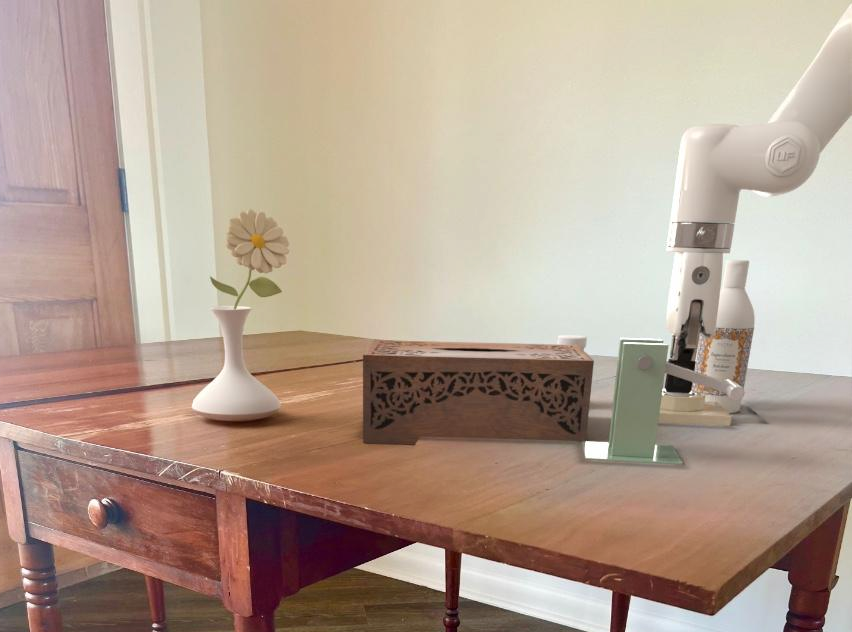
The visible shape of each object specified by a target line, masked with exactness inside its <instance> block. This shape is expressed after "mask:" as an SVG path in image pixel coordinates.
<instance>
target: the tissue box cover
mask: <svg viewBox="0 0 852 632" xmlns="http://www.w3.org/2000/svg"><path fill="white" fill-rule="evenodd" d="M585 352H586V351H585V350H584V351H583V350H582V349H581V348H580V347H579V346H578V345H557V343H556V344H555V343H554V344H553V343H513V342H512V343H510V342H509V343H508V342H473V341H472V342H471V341H469V342H467V341H435V340H433V341H431V340H430V341H429V340H428V341H427V340H390V339H389V340H388V339H374V340H373V341H372V343H370V345H369V346H368V348H367V349H366V351H364V353H363V354H362V443H363V444H383V445H385V444H386V445H411V446H412V445H415V446H416V444H417V442H418V441H419V439H420V438H421V437H423V438H425V437H427V438H455V439H456V438H457V439H488V440H489V439H492V440H522V441H523V440H526V441H555V442H556V441H557V442H561V441H562V442H582V441H587V435H588V433H587V432H588V424H589V412H590V405H591V404H590V403H591V393H592V384H593V374H594V365H595V360H594V359H593V358H592V357H591V356H590V355H589V354H588V353H587V352H586V353H587V354H588V355H589V356H588V355H587V354H586V353H585Z"/></svg>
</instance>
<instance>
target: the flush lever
mask: <svg viewBox="0 0 852 632" xmlns="http://www.w3.org/2000/svg"><path fill="white" fill-rule="evenodd" d="M665 374H670V375H673V376H676V377H679V378H682V379H685V380H688V381H691V382H694V383H697V384H700V385H703V386H706V387H709V388H712V389H715V390H717V391H720V392H723V393H725V394H727V395H728V396H729V397H730V398H731V399H732V400H734V401H738V400H741V399H742V400H743V398H744V396H745V393H746V392H745V388H744V389H743V388H742V387H740V386H739V385H738V384H737V383H735V382H734V381H733V380H731V379H727V380H724V381H722V380H719V379H716V378H713V377H710V376H707V375H704V374H701V373H698V372H695V371H692V370H689V369H686V368H683V367H680V366H677V365H675V364H672V363H669V362H668V361H666V369H665Z"/></svg>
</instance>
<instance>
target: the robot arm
mask: <svg viewBox="0 0 852 632" xmlns="http://www.w3.org/2000/svg"><path fill="white" fill-rule="evenodd" d="M851 116H852V2H851V3H850V5H848V7H847V9H846V10H845V11H844V13H843V14H842V15H841V17H840V18H839V19H838V21H837V22H836V24H835V26H834V27H833V28H832V29H831V31H830V33H829V34H828V36H827V38H826V39H825V41H824V42H823V44H822V46H821V47H820V49H819V50H818V52H817V53H816V55H815V57H814V58H813V60H812V61H811V63H810V64H809V66H808V67H807V69H806V70H805V71H804V73H803V74H802V76H801V77H800V78H799V80H798V81H797V82H796V84H795V85H794V86H793V88H792V89H791V90H790V92H789V93H788V94H787V96H786V97H785V98H784V100H783V101H782V103H781V104H780V105H779V107H778V108H777V109H776V111H774V113H772V116H771V117H770V118H769V120H768V121H767V122H766V123H761V124H760V123H759V124H753V125H752V124H751V125H741V126H740V125H737V124H728V123H709V124H708V123H706V124H698V125H694V126H692V127H689V128H688V129H686V130H685V132H683V135H682V137H681V141H680V147H679V154H678V160H677V161H678V162H677V167H676V176H675V184H674V190H673V191H674V192H673V199H672V207H671V214H670V223H669V229H668V235H667V244H666V246H667V247H666V252H667V253H668V252H671V253H673V252H674V253H675V254H674V261H673V267H672V273H671V280H670V286H669V287H670V288H669V294H668V300H667V301H668V302H667V310H666V321H665V322H666V323H665V324H666V325H665V326H666V329H667V331H668V332H670V333H671V336H672V337H671V344H670V351H669V358H668V359H667V360H668V361H667V362H669V363H672V364H675V365H677V366H680V367H683V368H686V369H689V370H692V371H695V364H696V357H697V350H698V343H699V338H700V334H701V335H703V336H705V337H706V338H712V337H713V336H714V335H715V330H716V322H717V314H718V305H719V297H720V291H721V289H722V280H723V279H722V278H723V266H724V265H723V264H724V254H731V249H732V243H733V237H734V231H735V223H736V218H737V211H738V205H739V199H740V193H741V190H744V191H752V192H754V193H755V194H757V195H759V196H763V197H777V196H781V195H784V194H787V193H788V194H789V193H791V192H793V191H795V190H797V189H798V188H800V187H801V186H803V185H804V184H805V183H806V182H807V181H808V180H809V179H810V178H811V176H812V175H813V173H814V172H815V170H816V168H817V166H818V163H819V159H820V154H821V153H822V152H823V151H824V149H825V148H826V147H827V145H828V144H829V143H830V142H831V141H832V139H833V138H834V137H835V135H836V134H837V133H838V132H840V131H839V130H840V129H841V128H842V127H843V126H844V125H845V123H846V122H848V120H849V119H850V118H851ZM665 375H666V376H665V380H664V389H666V391H667V392H677V393H690V392H691V390H692V384H693V382H691V381H688V380H685V379H682V378H679V377H676V376H673V375H670V374H667V373H665Z"/></svg>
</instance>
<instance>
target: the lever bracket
mask: <svg viewBox="0 0 852 632" xmlns="http://www.w3.org/2000/svg"><path fill="white" fill-rule="evenodd" d="M668 352H669V344H668V343H664V340H663V339H661V338H633V337H632V338H630V337H620V339H619V347H618V353H617V354H618V355H617V364H616V373H615V380H614V381H615V382H614V391H613V398H612V406H611V407H612V408H611V417H610V424H609V425H610V427H609V436H608V441H607V442H605V441H587V440H586V441H581V445H582V450H583V456H584V461H597V462H600V461H601V462H621V463H637V464H638V463H639V464H658V465H676V466H677V465H678V466H683V464H684V463H683V461H682V460H681V457H680V456H679V455H678V453H677V451H676V450H675V447H674V446H673V445H667V444H656V443H657V436H658V435H657V434H658V427H659V423H658V421H659V414H660V406H661V399H662V391H663V389H664V385H665V377H666V376H665V375H666V373H665V369H666V362H668V361H667V360H668V354H669V353H668Z"/></svg>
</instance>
